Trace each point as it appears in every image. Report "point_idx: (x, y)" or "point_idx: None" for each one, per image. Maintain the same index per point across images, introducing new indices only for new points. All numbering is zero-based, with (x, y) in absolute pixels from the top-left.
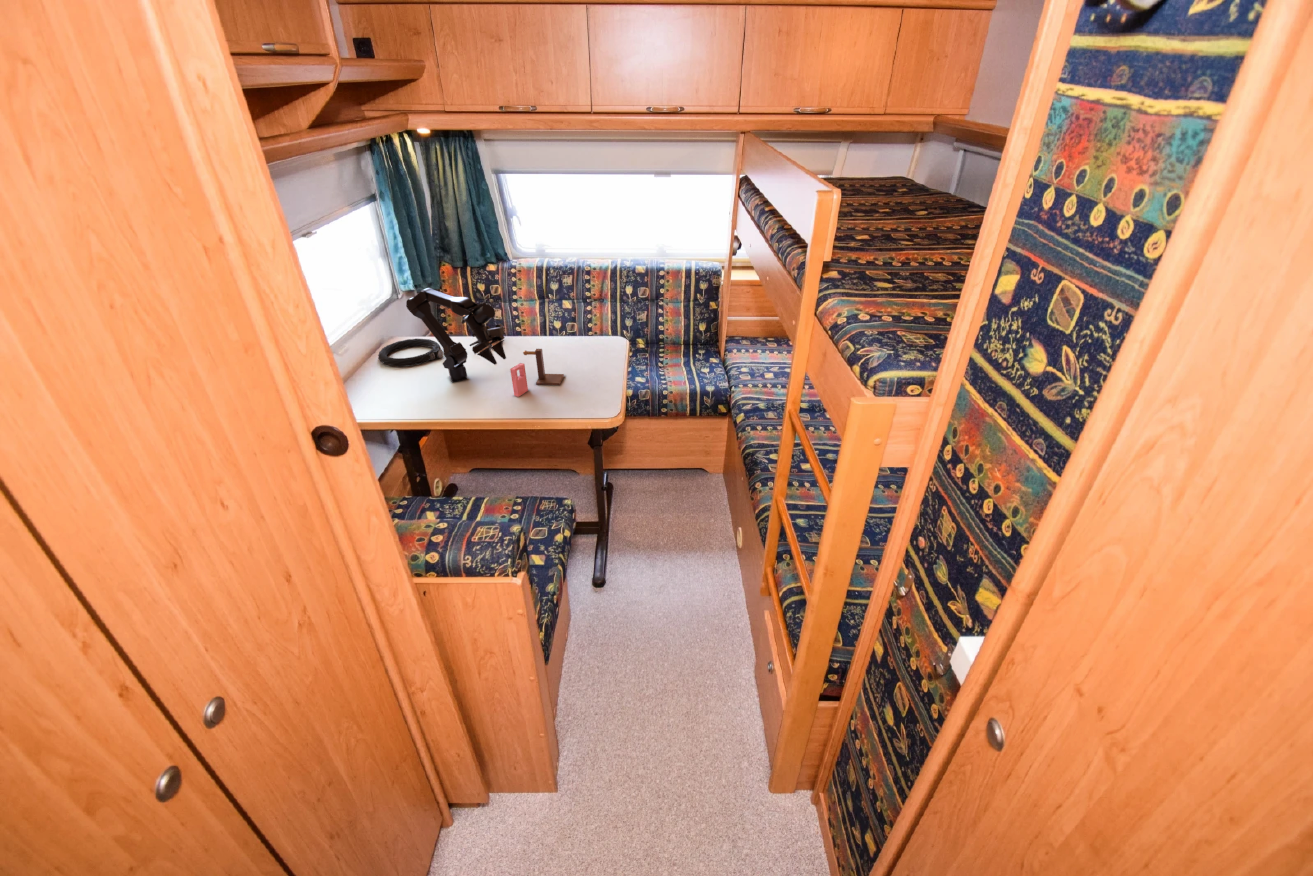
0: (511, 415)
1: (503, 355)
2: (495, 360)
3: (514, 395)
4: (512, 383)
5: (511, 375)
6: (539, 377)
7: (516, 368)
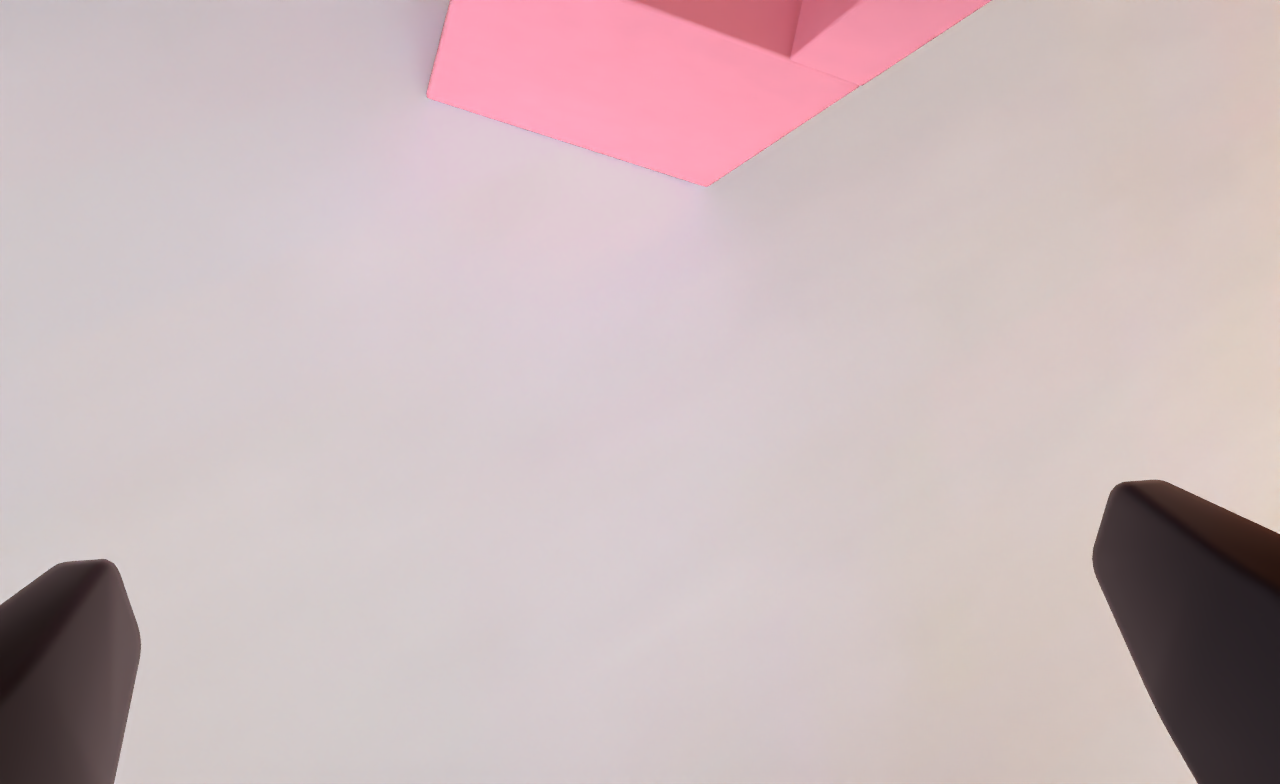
0: (1244, 7)
1: (54, 711)
2: (1237, 541)
3: (710, 182)
4: (821, 111)
5: (940, 25)
6: None
7: None
